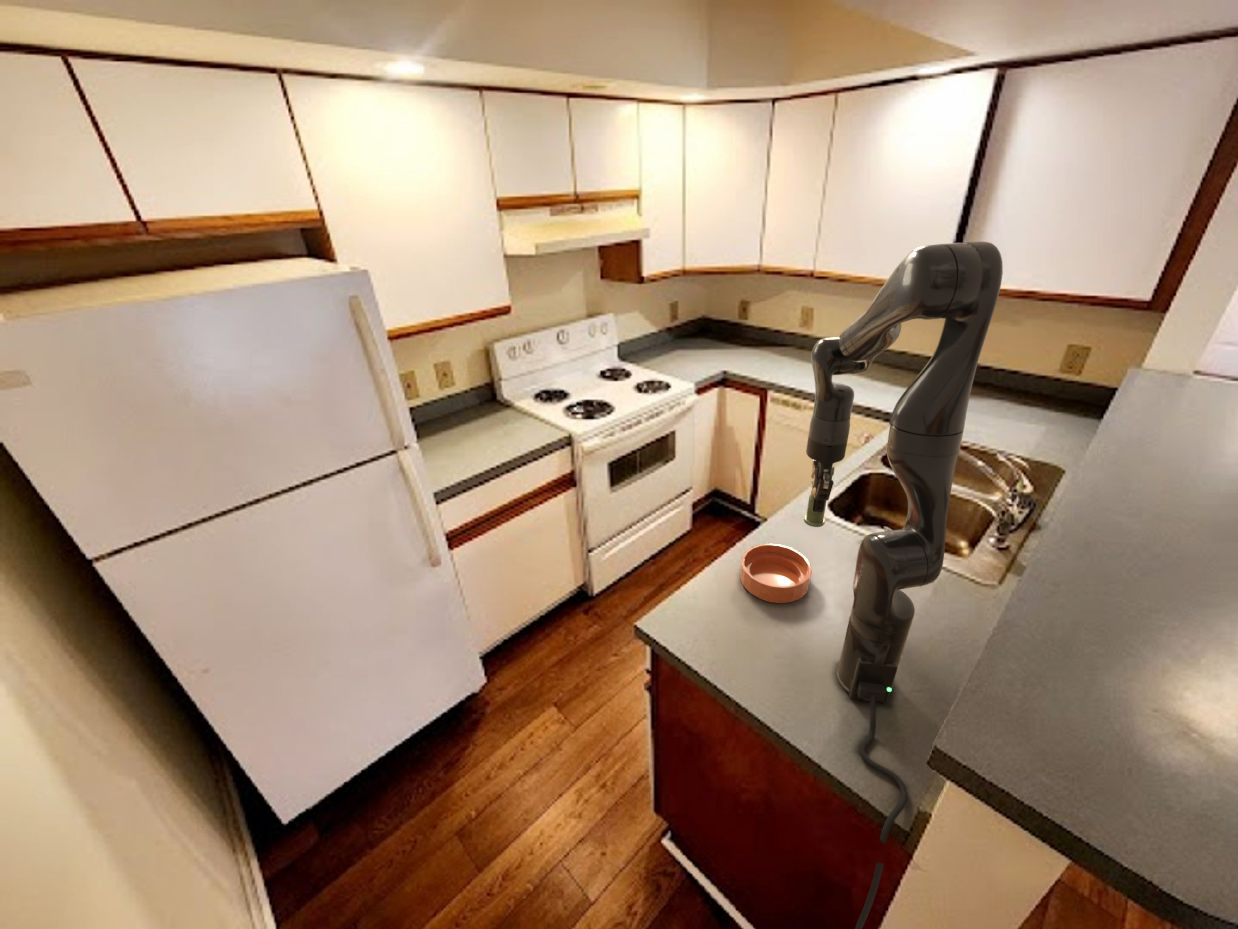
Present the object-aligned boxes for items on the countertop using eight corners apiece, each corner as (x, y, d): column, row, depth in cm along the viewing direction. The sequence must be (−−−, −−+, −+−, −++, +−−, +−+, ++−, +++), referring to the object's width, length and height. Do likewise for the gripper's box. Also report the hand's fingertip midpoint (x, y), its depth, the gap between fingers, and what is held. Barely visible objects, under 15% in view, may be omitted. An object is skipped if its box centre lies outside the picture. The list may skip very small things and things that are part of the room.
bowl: (811, 608, 115) (814, 591, 113) (739, 600, 118) (741, 583, 116) (805, 563, 128) (807, 547, 125) (740, 557, 131) (741, 541, 128)
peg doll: (825, 528, 116) (832, 493, 111) (804, 526, 117) (809, 491, 112) (823, 516, 119) (829, 482, 115) (803, 515, 120) (808, 480, 116)
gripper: (805, 419, 114) (796, 488, 123) (812, 449, 102) (801, 523, 111) (842, 421, 113) (830, 490, 121) (853, 452, 101) (839, 526, 109)
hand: (816, 505), depth 116 cm, fingers closed on peg doll, 3 cm apart
